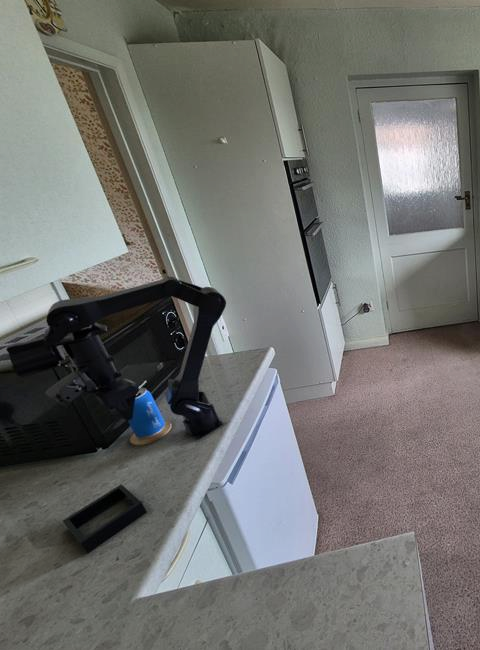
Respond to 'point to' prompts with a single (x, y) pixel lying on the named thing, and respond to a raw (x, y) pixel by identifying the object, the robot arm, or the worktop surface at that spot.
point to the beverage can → (146, 415)
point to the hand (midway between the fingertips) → (121, 414)
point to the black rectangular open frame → (111, 526)
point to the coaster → (143, 441)
